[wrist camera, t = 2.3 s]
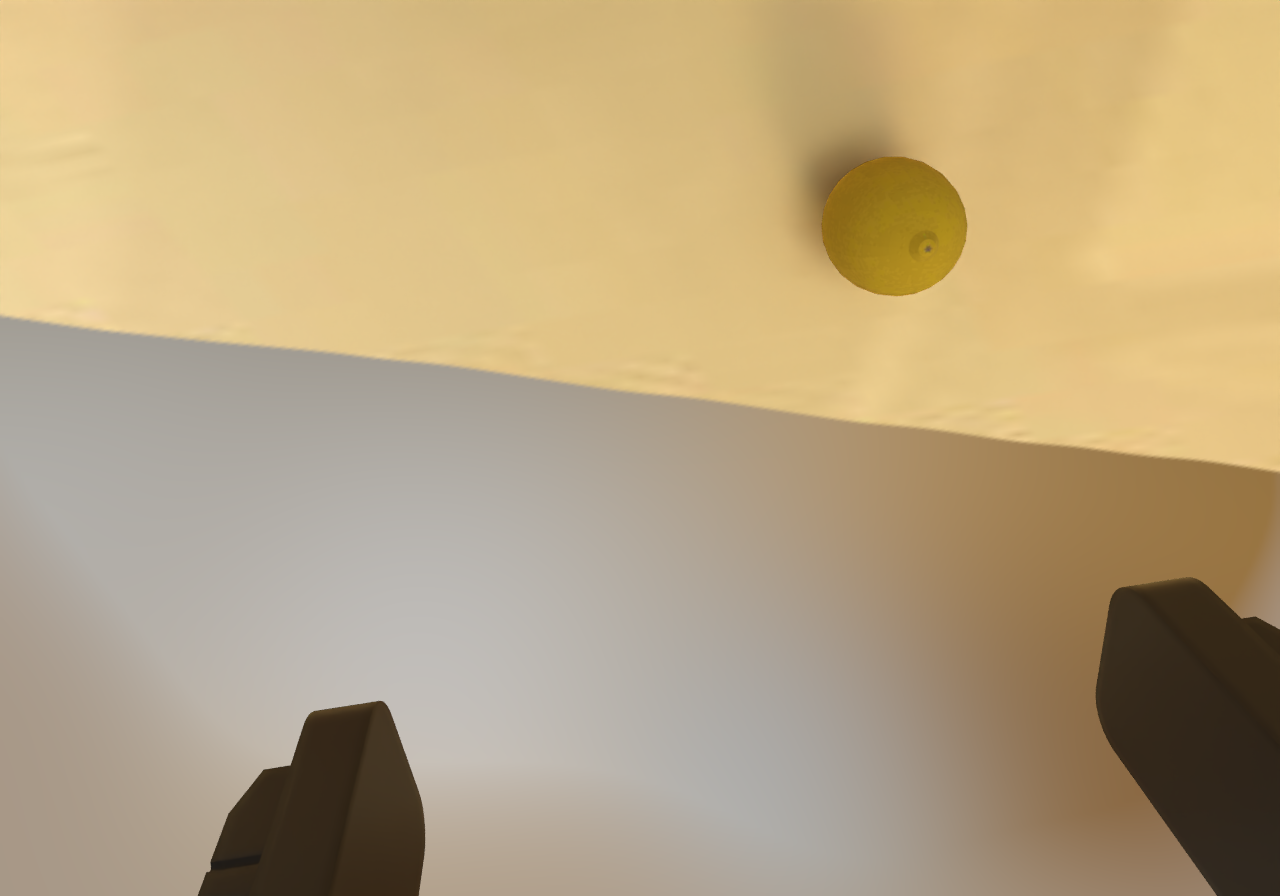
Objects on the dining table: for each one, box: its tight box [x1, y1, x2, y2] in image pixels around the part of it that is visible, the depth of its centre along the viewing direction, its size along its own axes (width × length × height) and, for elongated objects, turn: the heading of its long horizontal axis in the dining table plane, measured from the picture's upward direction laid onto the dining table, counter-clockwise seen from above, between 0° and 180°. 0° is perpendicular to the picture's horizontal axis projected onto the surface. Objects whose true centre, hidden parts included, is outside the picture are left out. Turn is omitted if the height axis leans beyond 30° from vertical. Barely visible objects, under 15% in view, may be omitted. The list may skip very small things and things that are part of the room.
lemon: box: [822, 157, 967, 296], centre depth 38 cm, size 6×6×8 cm
